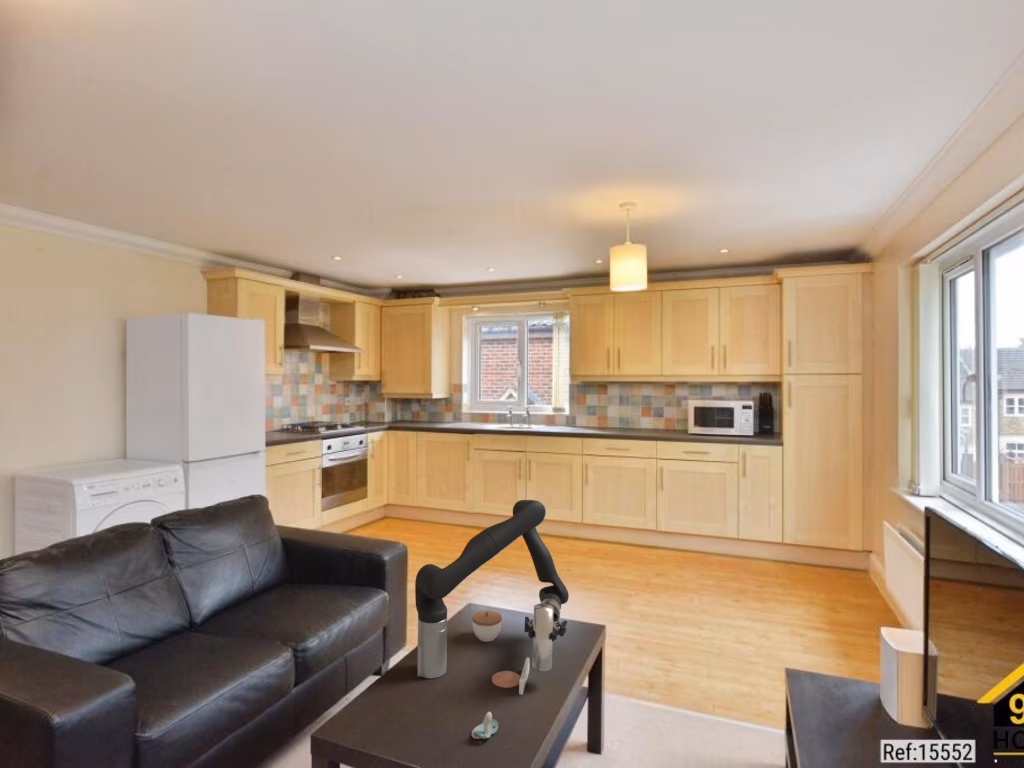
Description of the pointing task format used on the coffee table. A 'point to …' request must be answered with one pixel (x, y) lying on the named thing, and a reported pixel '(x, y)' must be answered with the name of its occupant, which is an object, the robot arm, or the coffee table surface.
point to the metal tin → (542, 637)
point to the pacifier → (485, 727)
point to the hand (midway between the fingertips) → (542, 636)
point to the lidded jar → (486, 625)
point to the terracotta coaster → (506, 679)
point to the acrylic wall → (524, 676)
